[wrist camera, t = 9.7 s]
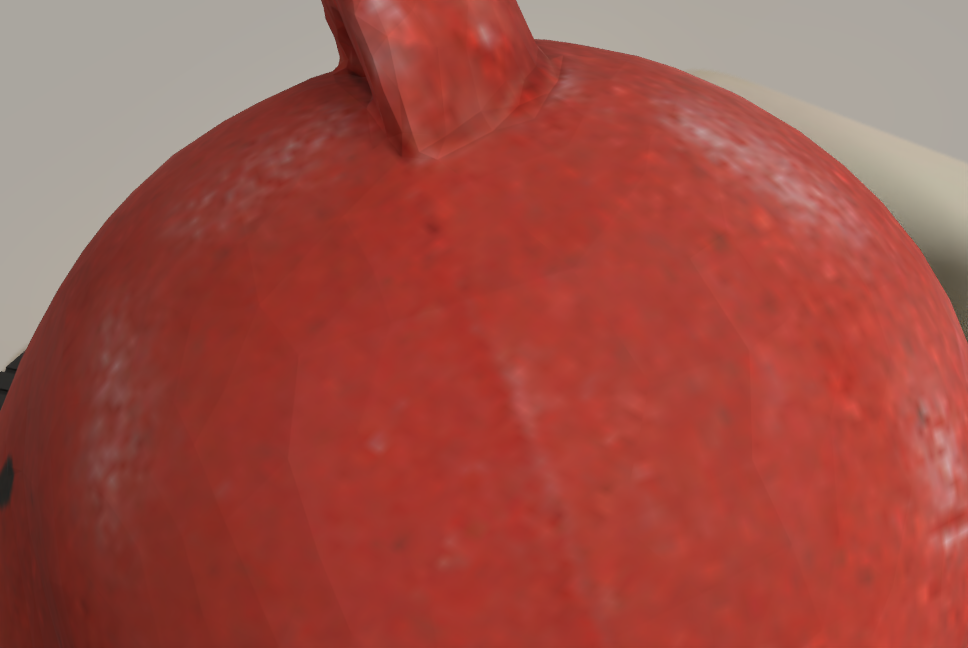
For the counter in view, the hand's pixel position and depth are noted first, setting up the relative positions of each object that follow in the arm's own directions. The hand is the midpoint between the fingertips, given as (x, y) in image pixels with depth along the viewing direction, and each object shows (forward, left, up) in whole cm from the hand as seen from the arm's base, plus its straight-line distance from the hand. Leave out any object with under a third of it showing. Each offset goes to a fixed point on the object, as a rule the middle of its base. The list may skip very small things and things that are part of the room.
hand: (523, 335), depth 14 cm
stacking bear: (+1, +3, -7) cm, 8 cm away
